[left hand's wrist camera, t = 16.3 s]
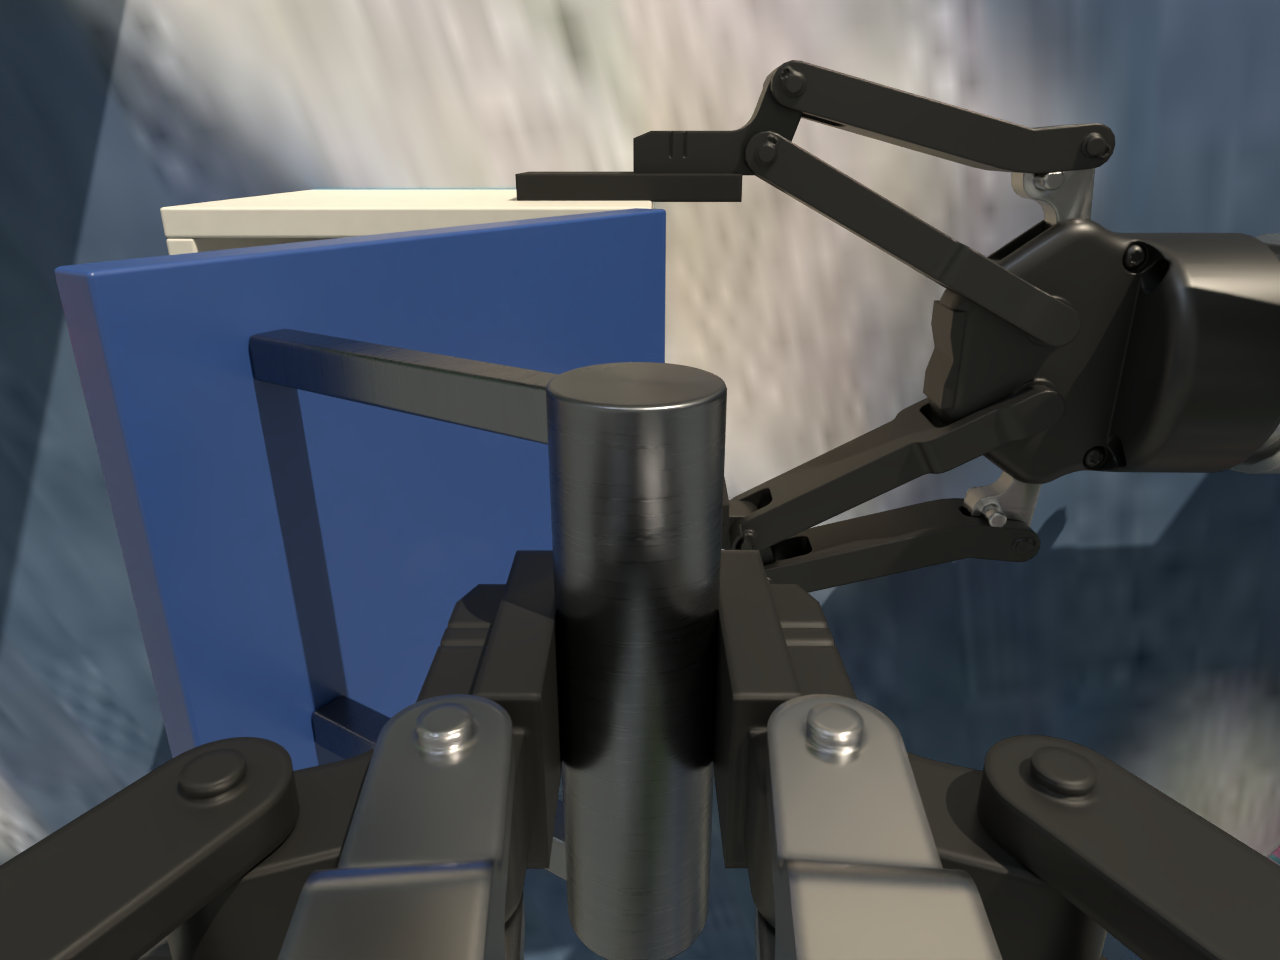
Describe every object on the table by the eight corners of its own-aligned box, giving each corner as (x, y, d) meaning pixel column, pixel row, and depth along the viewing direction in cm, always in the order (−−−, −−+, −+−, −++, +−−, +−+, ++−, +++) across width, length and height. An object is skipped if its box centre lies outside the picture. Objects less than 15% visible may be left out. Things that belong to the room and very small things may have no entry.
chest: (347, 428, 36) (223, 540, 26) (316, 188, 33) (157, 206, 22) (653, 429, 36) (650, 543, 26) (654, 188, 32) (651, 206, 22)
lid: (190, 842, 15) (602, 1137, 10) (50, 266, 11) (580, 341, 7) (636, 546, 25) (929, 629, 21) (635, 207, 22) (985, 221, 17)
